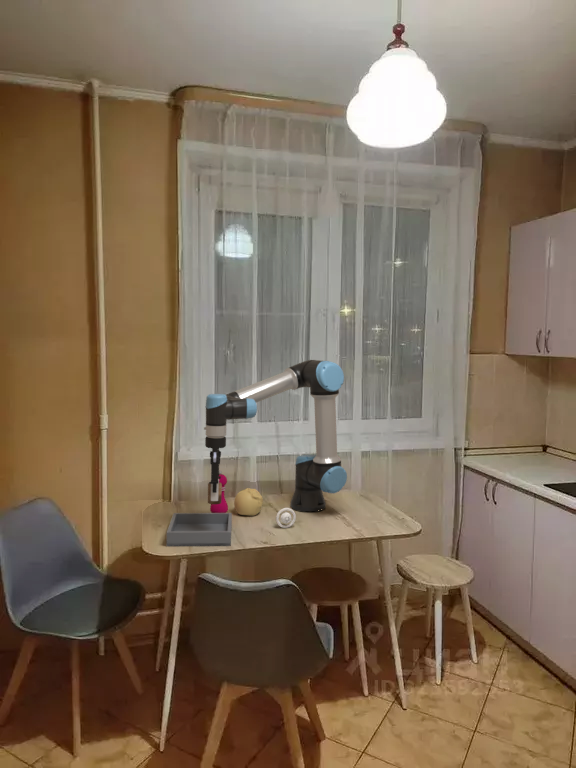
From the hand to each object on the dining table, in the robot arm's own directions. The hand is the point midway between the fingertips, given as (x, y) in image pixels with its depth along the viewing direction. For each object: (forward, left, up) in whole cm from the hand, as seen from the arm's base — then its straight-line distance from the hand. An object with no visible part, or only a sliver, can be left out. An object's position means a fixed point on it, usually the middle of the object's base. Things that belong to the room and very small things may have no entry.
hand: (214, 498), depth 219 cm
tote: (+5, 0, -14) cm, 15 cm away
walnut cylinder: (0, 0, -2) cm, 2 cm away
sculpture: (-13, -26, -14) cm, 32 cm away
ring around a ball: (-27, -9, -14) cm, 32 cm away
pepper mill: (-1, -19, -14) cm, 24 cm away
